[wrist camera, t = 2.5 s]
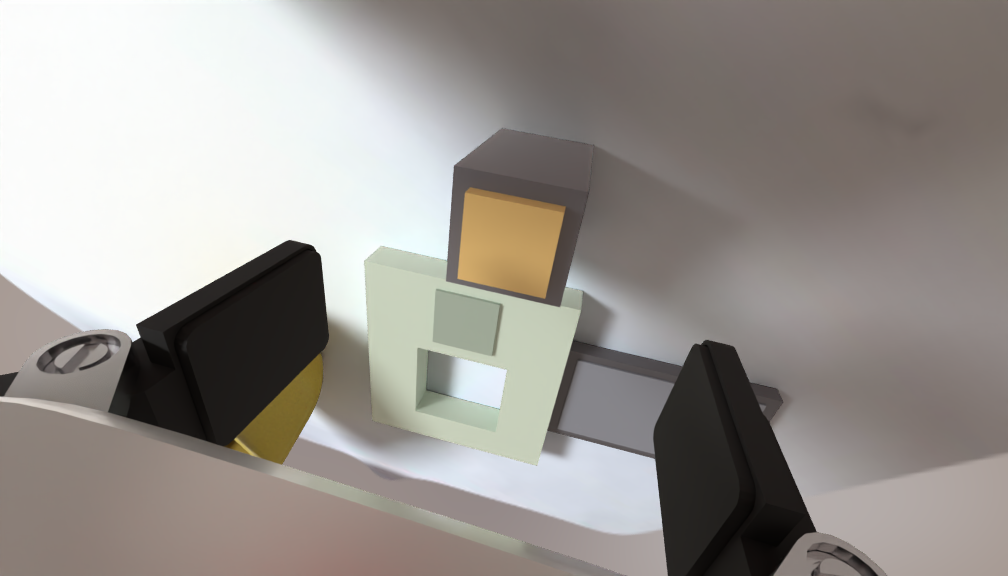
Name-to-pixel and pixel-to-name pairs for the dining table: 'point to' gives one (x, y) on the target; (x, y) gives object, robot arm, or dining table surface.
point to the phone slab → (621, 398)
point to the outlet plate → (463, 354)
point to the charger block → (518, 215)
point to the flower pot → (282, 417)
